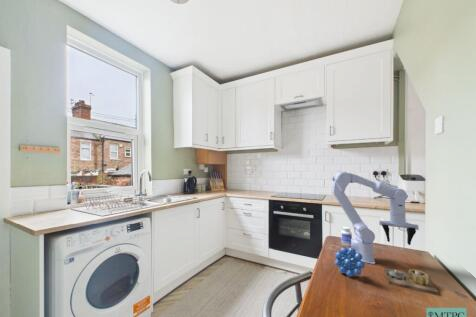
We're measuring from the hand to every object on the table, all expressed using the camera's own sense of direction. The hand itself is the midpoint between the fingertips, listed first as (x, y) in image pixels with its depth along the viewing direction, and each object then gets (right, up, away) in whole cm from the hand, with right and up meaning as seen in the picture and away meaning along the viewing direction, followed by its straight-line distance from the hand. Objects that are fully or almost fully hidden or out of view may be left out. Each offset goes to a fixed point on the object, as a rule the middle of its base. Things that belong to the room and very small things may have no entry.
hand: (398, 242), depth 95 cm
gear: (-6, -7, -18) cm, 20 cm away
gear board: (-9, -9, -16) cm, 20 cm away
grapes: (-30, -9, -12) cm, 33 cm away
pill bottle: (-12, -11, +22) cm, 28 cm away
